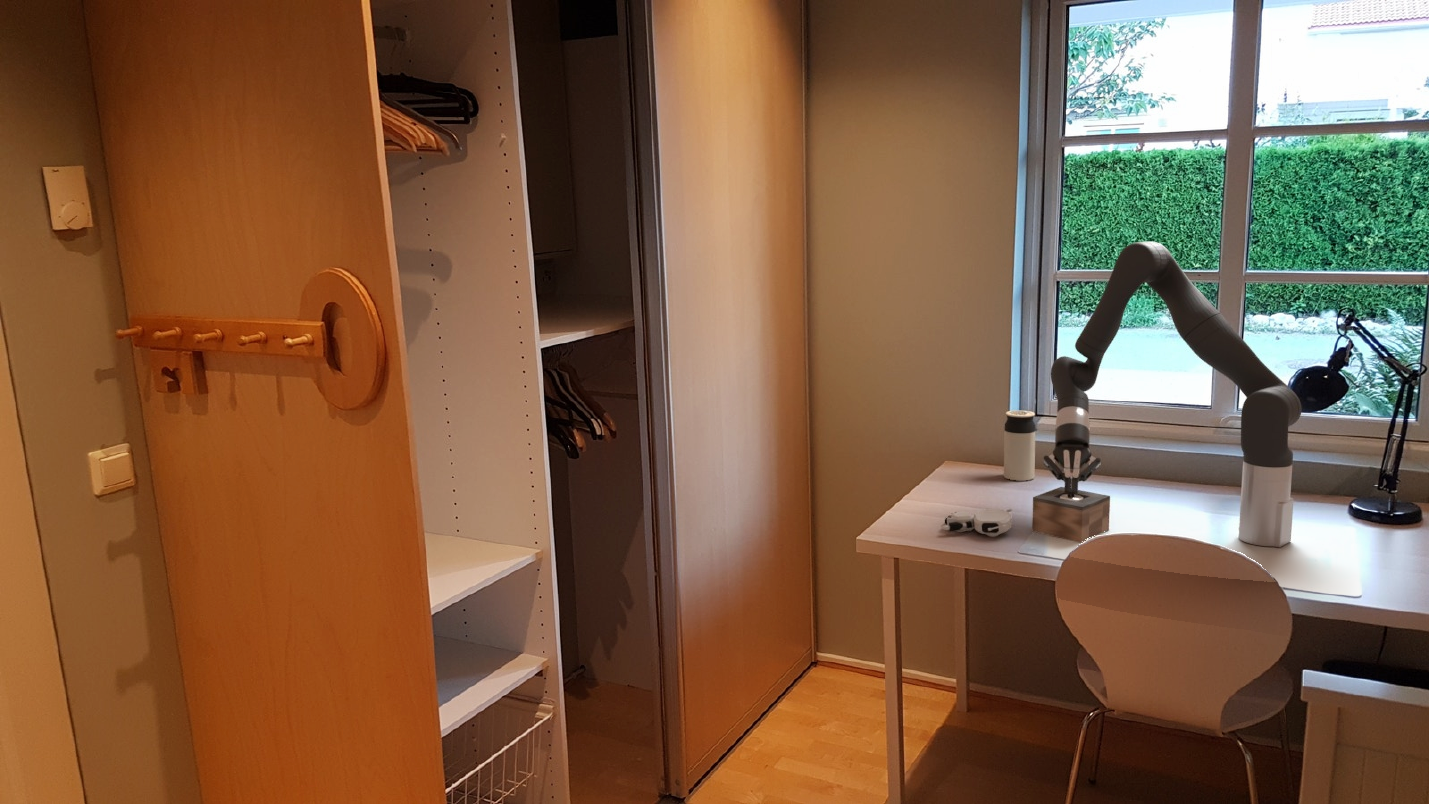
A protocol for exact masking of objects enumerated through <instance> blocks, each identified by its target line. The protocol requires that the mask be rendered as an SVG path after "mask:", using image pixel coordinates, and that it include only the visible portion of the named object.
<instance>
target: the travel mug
mask: <svg viewBox="0 0 1429 804" xmlns="http://www.w3.org/2000/svg"><path fill="white" fill-rule="evenodd" d="M1005 415H1006V418H1007V419H1006V421H1005V423H1004V436H1003V438H1004V440H1003V441H1004V442H1003V443H1004V444H1003V445H1004V446H1003V448H1004V450H1003V477H1004V478H1005V479H1006V480H1009V479H1010V481H1013V480H1016V482H1027V481H1026V480H1028V481H1031V480H1033V479H1035V467H1036V466H1035V464H1036V463H1035V461H1036V460H1035V459H1036V457H1035V456H1036V424H1035V421H1034V416H1035V415H1036V414H1035V412H1033V411H1030V410H1021V409H1020V410H1009V411H1008V410H1007V411H1006V412H1005Z"/></svg>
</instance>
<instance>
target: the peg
mask: <svg viewBox="0 0 1429 804" xmlns="http://www.w3.org/2000/svg"><path fill="white" fill-rule="evenodd" d="M1060 498H1061V499H1066V500H1071V501H1076V502H1077V501H1079V500H1082V499H1083V497H1082V496H1079V495H1074V497H1070V496H1068V494H1065V495H1061V496H1060Z"/></svg>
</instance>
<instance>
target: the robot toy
mask: <svg viewBox="0 0 1429 804" xmlns="http://www.w3.org/2000/svg"><path fill="white" fill-rule="evenodd" d="M1010 512H1012V509H1011V508H1010V509H1007V510H1005V509H983V510H981V511H979V512H978V513H976V515H975V514H974V512H973V511H955V512H952V513H949V514H948V515H947V517H945V518H944V525H943V524H942V526H941V528H942V530H944V531H948V530H949V531H950V532H955V531H956V533H964V532H970V531H972V530H973V529H974V530H975V531H976V532H977V533H980V534H983V535H986V536H988V537H992V538H995V537H998V536H999V535H1000V534H1004V533H1006V532H1007V531H1008V530H1010V529H1011V528H1012V526H1013V516H1012V514H1011V513H1010Z"/></svg>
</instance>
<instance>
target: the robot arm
mask: <svg viewBox="0 0 1429 804" xmlns="http://www.w3.org/2000/svg"><path fill="white" fill-rule="evenodd" d="M1144 283H1145V284H1147V286H1149V287H1150V288H1151V289H1152V290H1153V291H1154V292H1155V293H1156V294H1157V295H1158V296H1159V297H1160V298H1161V300H1162V301H1163V302H1164V304H1165V305H1166V307H1167V309H1168V311H1169V313H1170V316H1171V319H1172V321H1173V325H1174V327H1175V330H1176V331H1177V333H1178V334H1179V336H1180V337H1181V339H1182V340H1183V341H1184V342H1185V344H1186V345H1187V346H1188V347H1189V348H1190V349H1191V350H1192V351H1193V353H1194V354H1195V355H1196V356H1197V357H1199V358H1200V359H1201V360H1202V361H1203V362H1204V363H1206V364H1207V365H1209V367H1211V368H1213V369H1214V370H1215V371H1217V372H1219V373H1220V374H1222V375H1223V376H1224V377H1226V378H1228V379H1229V380H1230V381H1231V382H1232V383H1233V384H1234V385H1235V386H1236V387H1238V389H1239V390H1240V391H1241V392H1242V394H1243V395H1244V396H1245V397H1246V398H1245V400H1244V402H1243V404H1242V407H1241V408H1242V409H1241V417H1240V447H1241V451H1242V453H1243V455H1242V457H1243V459H1242V460H1243V462H1242V475H1241V491H1240V492H1241V495H1240V506H1239V507H1240V508H1239V509H1240V510H1239V524H1238V526H1239V527H1238V539H1239V540H1240V541H1242V542H1244V543H1247V544H1250V545H1254V546H1255V545H1256V546H1260V547H1276V548H1282V547H1283V546H1285V545H1286V544H1288V543H1290V542H1291V541H1292V527H1293V526H1292V525H1293V514H1294V498H1293V497H1291V491H1292V488H1291V487H1292V476H1293V474H1292V473H1293V463H1294V462H1293V461H1294V453H1293V450H1291V449H1290V447H1289V442H1288V441H1289V427H1291V426H1293V425H1294V424H1295V423H1297V421H1299V419H1300V418H1301V414H1302V403H1301V401H1300V398H1299V397H1298V395H1297V394H1296V392H1295V391H1294V390H1292V389H1291V387H1289V386H1288V385H1287V384H1286V383H1285V382H1284V381H1283V380H1282V379H1281V378H1279V377H1278V376H1277V375H1276V373H1274V372H1273V371H1272V370H1271V369H1270V368H1269V367H1268V366H1266V365H1265V363H1264V362H1263V361H1262V360H1261V359H1260V358H1259V357H1258V356H1257V354H1256V353H1255V352H1254V351H1253V350H1252V348H1251V346H1249V345H1248V344H1247V343H1246V342H1245V340H1244V339H1243V338H1242V337H1241V336H1240V334H1239V333H1238V332H1237V331H1236V329H1235V328H1234V327H1233V326H1232V325H1231V324H1230V323H1229V321H1228V320H1227V319H1226V318H1225V316H1223V314H1221V312H1220V311H1219V310H1218V309H1217V308H1216V307H1215V306H1214V305H1213V303H1211V302H1210V301H1209V299H1207V298H1206V295H1204V294H1203V293H1202V292H1201V291H1200V290H1199V289H1198V288H1197V287H1196V286H1195V284H1194V283H1192V281H1191V280H1190V279H1189V278H1188V276H1187V275H1186V274H1185V272H1184V270H1183V269H1182V268H1181V267H1180V264H1179V263H1178V262H1177V260H1176V259H1175V258H1174V256H1173V255H1172V254H1171V252H1170V251H1169V250H1168V249H1167V248H1166V247H1165V246H1164V245H1163V244H1162V243H1159V242H1156V241H1137V242H1133V243H1130V244H1128V245H1127V246H1125V247H1124V248H1122V250H1121V252H1120V253H1119V255H1118V257H1117V259H1116V262H1115V264H1114V266H1113V269H1112V271H1111V274H1110V277H1109V280H1108V281H1107V284H1106V286H1105V288H1104V290H1103V293H1102V295H1101V297H1100V299H1099V302H1098V304H1097V305H1096V307H1095V309H1094V311H1093V312H1092V314H1091V316H1090V317H1089V320H1088V321H1087V323H1086V325H1085V326H1084V328H1083V329H1082V331H1081V332H1080V334H1079V336H1078V338H1077V339H1076V342H1075V345H1074V348H1075V350H1076V351H1077V352H1078V353H1079V354H1080V355H1082V356H1083V357H1084V358H1086V361H1081V360H1080V359H1079V360H1078V359H1076V358H1072V357H1070V356H1065V355H1064V356H1060V357H1058V358H1056V359H1055V360H1054V362H1053V364H1052V366H1051V368H1050V380H1051V383H1052V387H1053V391H1054V393H1055V398H1056V400H1057V408H1056V409H1057V410H1056V419H1055V429H1054V430H1055V432H1054V433H1055V441H1054V449H1053V450H1052V454H1050V455H1044V456H1043V465H1044V467H1046V469H1048V470H1049V472H1050V473H1051V474H1052V476H1054V477H1055V478H1056V480H1058V481H1062V482H1064V487H1065V489H1064V492H1065V494H1068V496H1070V497H1074V494H1076V495H1077V493H1078V490H1079V482H1086V481H1087V480H1088V479H1089V478H1090V477H1092V475H1094V474H1095V472H1096V471H1098V469H1100V467H1101V462H1102V461H1101V458H1100V457H1095V456H1093V455H1092V454H1093V453H1092V451H1091V449H1090V434H1091V433H1090V432H1091V428H1090V417H1089V415H1090V413H1089V409H1090V408H1089V407H1090V404H1089V402H1090V399H1089V397H1088V394H1087V393H1086V392H1088V391H1090V390H1091V389H1093V387H1094V386H1095V384H1096V381H1097V378H1098V375H1099V370H1100V366H1101V363H1102V361H1103V359H1104V355H1105V353H1106V352H1107V350H1108V349H1109V347H1110V346H1111V344H1112V342H1113V341H1114V339H1115V337H1116V335H1118V332H1119V329H1120V327H1121V323H1122V321H1123V317H1124V314H1125V310H1126V308H1127V305H1128V304H1129V303H1130V300H1131V298H1132V297H1133V296H1134V294H1135V293H1136V292H1137V290H1138V289H1139V288H1140V287H1142V285H1143V284H1144ZM1087 463H1088V466H1086V468H1084V467H1085V465H1087ZM1057 464H1058V465H1059V466H1060V467H1061V468H1062V469H1063V470H1061V469H1060V467H1059V466H1058V465H1057ZM1082 468H1084V469H1083V471H1081V472H1080V470H1081V469H1082ZM1071 470H1072V471H1073V472H1072V475H1071ZM1071 476H1072V477H1071Z"/></svg>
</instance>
